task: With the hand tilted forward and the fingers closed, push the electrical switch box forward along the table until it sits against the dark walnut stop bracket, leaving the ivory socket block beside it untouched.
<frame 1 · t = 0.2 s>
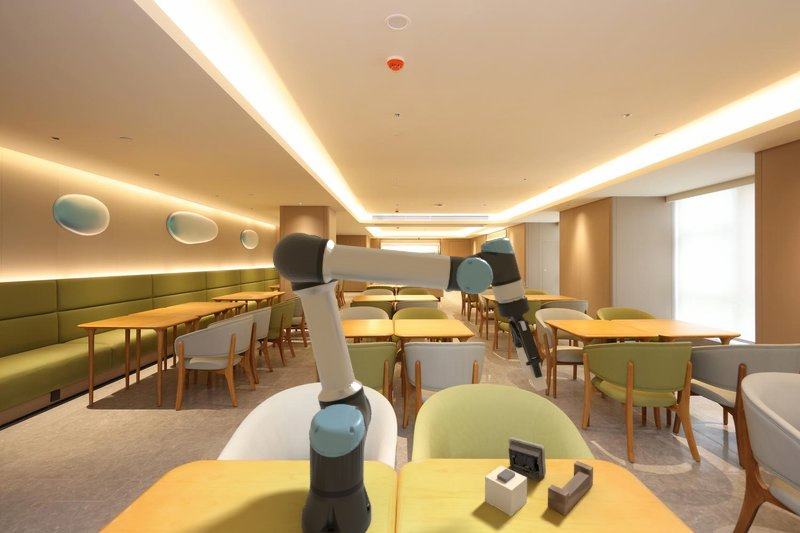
hand: (534, 379, 93), 27 cm above the table, tool tilted 15°, fingers open, 13 cm apart
socket block: (505, 502, 88), on the table
stop bracket: (574, 496, 90), on the table
electrical switch: (526, 475, 99), on the table
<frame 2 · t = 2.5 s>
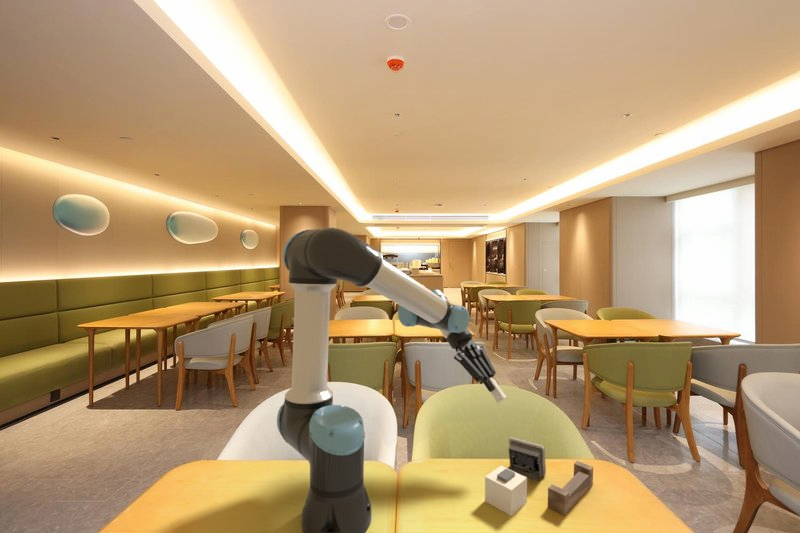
hand: (502, 399, 104), 18 cm above the table, tool tilted 45°, fingers closed
nothing on the table moved.
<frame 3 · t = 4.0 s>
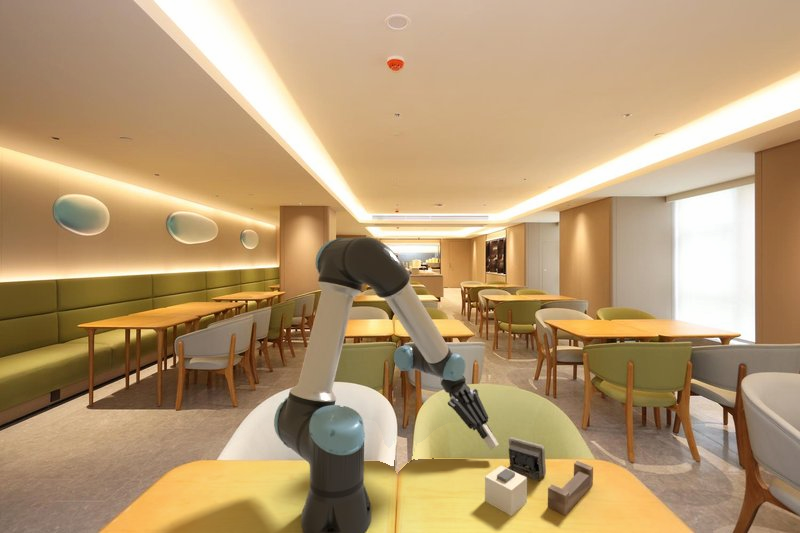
hand: (494, 447, 106), 4 cm above the table, tool tilted 45°, fingers closed
nothing on the table moved.
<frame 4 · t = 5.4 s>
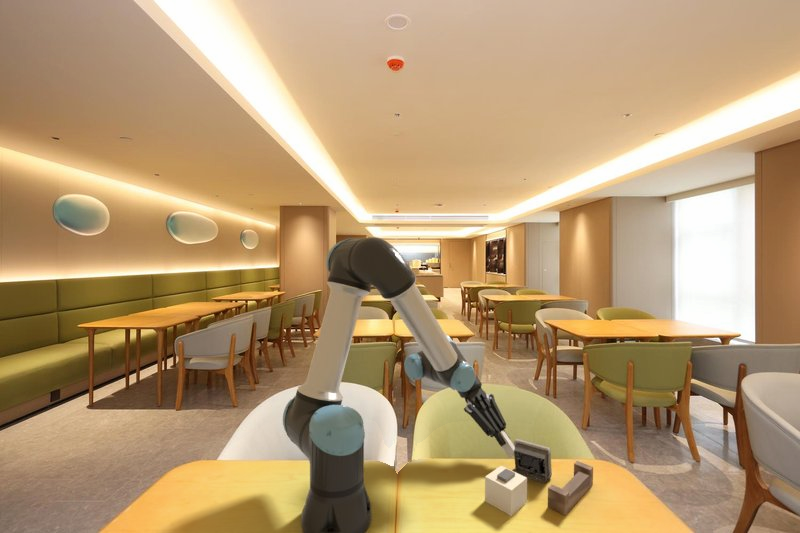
hand: (513, 455, 102), 4 cm above the table, tool tilted 45°, fingers closed
electrical switch: (532, 477, 98), on the table, touching gripper
everything else where it was.
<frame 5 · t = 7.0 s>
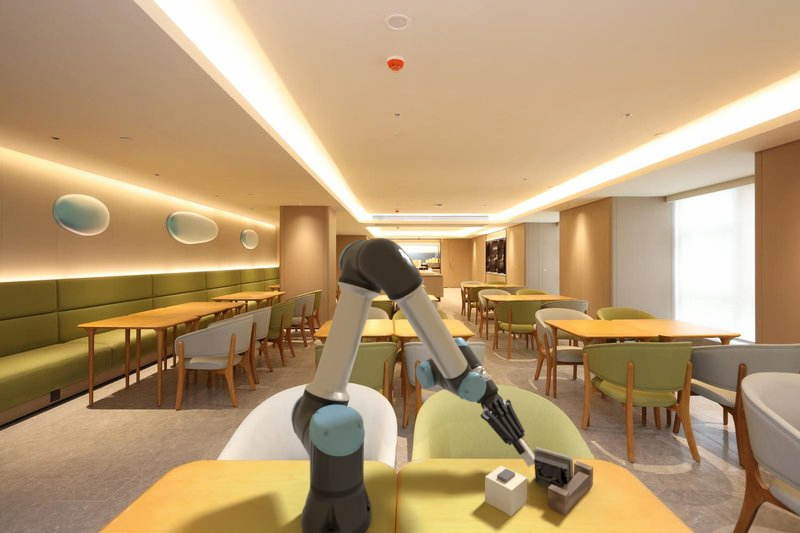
hand: (533, 463, 97), 4 cm above the table, tool tilted 45°, fingers closed
electrical switch: (553, 487, 93), on the table, touching gripper, stop bracket
everything else where it was.
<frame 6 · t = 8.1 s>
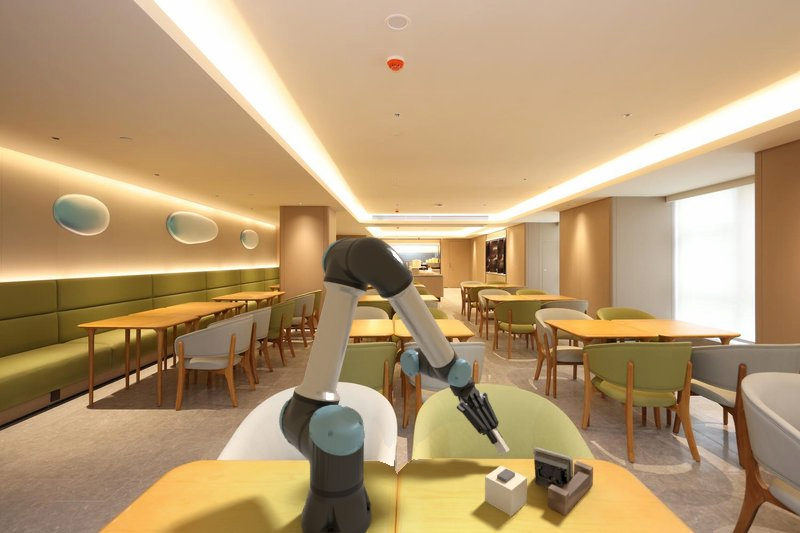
hand: (505, 453, 103), 3 cm above the table, tool tilted 45°, fingers closed
electrical switch: (553, 488, 93), on the table
everything else where it was.
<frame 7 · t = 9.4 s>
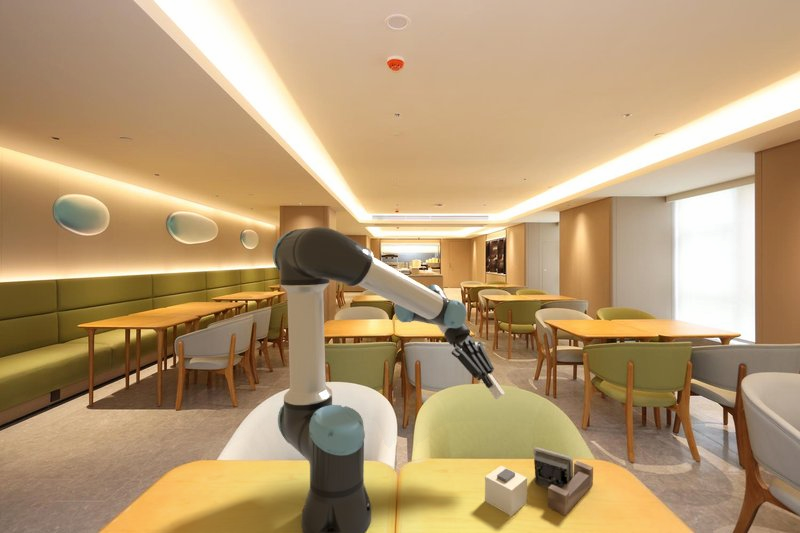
hand: (500, 396, 102), 20 cm above the table, tool tilted 45°, fingers closed
nothing on the table moved.
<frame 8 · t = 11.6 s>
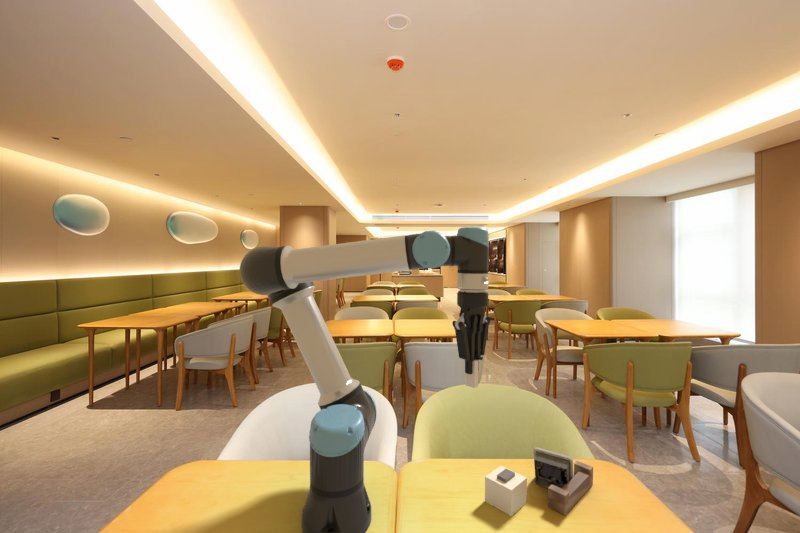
hand: (471, 385, 91), 26 cm above the table, tool pointing down, fingers closed
nothing on the table moved.
at the end: electrical switch inside the target area (0.7 cm from its centre), on the table; electrical switch tilted 0°; socket block moved 0.2 cm from its start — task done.
